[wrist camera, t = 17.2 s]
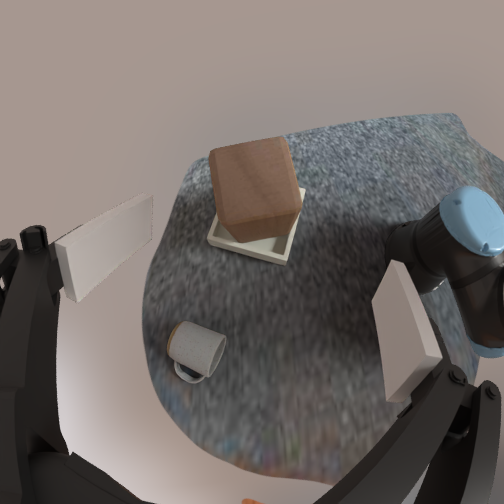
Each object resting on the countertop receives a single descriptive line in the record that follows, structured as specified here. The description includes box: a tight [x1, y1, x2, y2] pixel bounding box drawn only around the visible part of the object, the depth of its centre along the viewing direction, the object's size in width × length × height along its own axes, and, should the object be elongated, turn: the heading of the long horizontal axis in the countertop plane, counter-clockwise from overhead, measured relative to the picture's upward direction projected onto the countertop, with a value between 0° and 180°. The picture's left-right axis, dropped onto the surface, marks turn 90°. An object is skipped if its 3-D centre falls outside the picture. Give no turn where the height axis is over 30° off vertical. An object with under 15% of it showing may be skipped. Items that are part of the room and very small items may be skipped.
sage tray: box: [207, 188, 306, 266], centre depth 51 cm, size 15×15×4 cm
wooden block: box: [209, 137, 302, 243], centre depth 41 cm, size 10×10×20 cm
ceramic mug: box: [167, 321, 226, 383], centre depth 42 cm, size 11×8×8 cm
